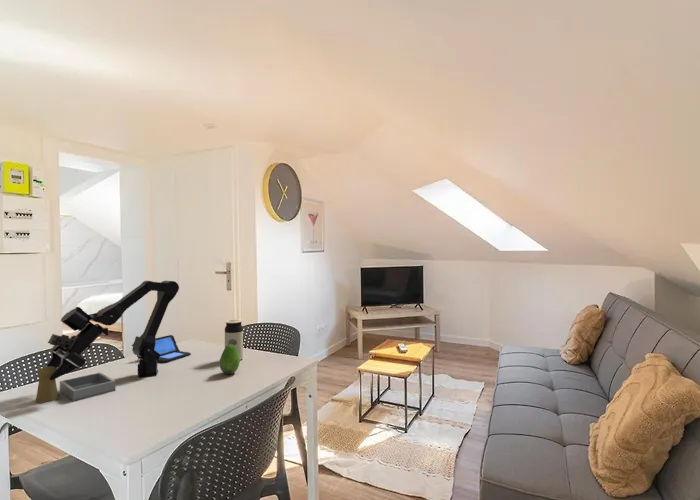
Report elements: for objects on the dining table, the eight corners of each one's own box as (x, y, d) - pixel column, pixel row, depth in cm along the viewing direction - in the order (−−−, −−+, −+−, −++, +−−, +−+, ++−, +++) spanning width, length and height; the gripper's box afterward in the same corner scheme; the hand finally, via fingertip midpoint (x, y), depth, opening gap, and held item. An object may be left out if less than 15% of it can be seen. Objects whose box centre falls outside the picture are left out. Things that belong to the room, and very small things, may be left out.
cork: (45, 403, 124) (45, 370, 124) (30, 402, 125) (30, 369, 125) (62, 396, 130) (62, 365, 130) (48, 395, 131) (48, 364, 131)
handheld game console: (164, 364, 168) (164, 343, 168) (143, 360, 174) (143, 340, 174) (192, 355, 182) (192, 336, 183) (172, 352, 188) (172, 334, 188)
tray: (59, 390, 135) (59, 381, 136) (99, 381, 145) (99, 372, 145) (73, 401, 126) (73, 391, 126) (115, 390, 136) (115, 380, 136)
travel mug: (229, 356, 178) (229, 319, 178) (245, 357, 177) (245, 319, 177) (221, 361, 170) (221, 322, 171) (238, 362, 169) (238, 322, 169)
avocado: (240, 375, 152) (240, 345, 152) (219, 377, 149) (219, 347, 149) (239, 369, 159) (239, 341, 159) (219, 371, 157) (219, 342, 157)
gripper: (58, 322, 138) (18, 358, 129) (74, 328, 126) (31, 369, 117) (83, 339, 144) (47, 376, 135) (101, 347, 132) (62, 387, 123)
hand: (46, 376), depth 127 cm, fingers open, 9 cm apart
